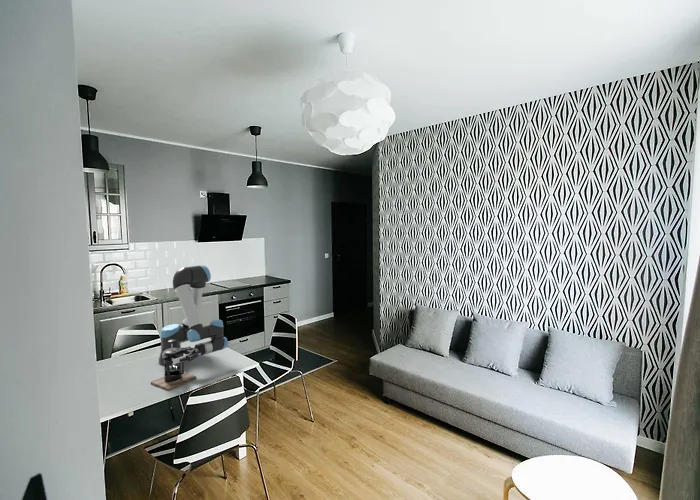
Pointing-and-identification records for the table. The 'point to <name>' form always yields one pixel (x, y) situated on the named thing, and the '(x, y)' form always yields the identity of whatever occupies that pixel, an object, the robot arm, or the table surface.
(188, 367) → the table surface
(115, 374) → the table surface
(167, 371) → the french press
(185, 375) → the board
